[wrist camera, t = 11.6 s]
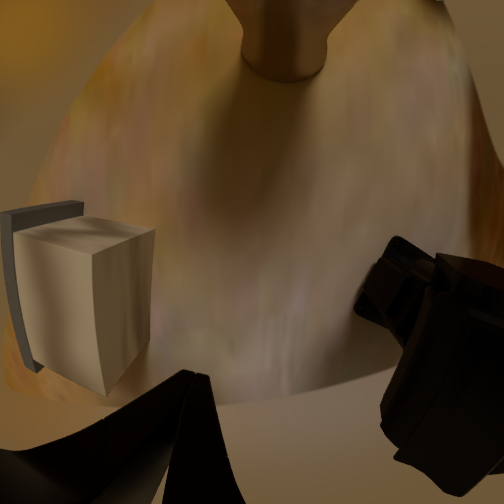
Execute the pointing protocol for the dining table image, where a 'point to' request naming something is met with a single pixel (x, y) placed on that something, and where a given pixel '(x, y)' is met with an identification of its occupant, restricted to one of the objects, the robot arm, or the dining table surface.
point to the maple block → (85, 296)
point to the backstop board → (10, 224)
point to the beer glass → (287, 35)
